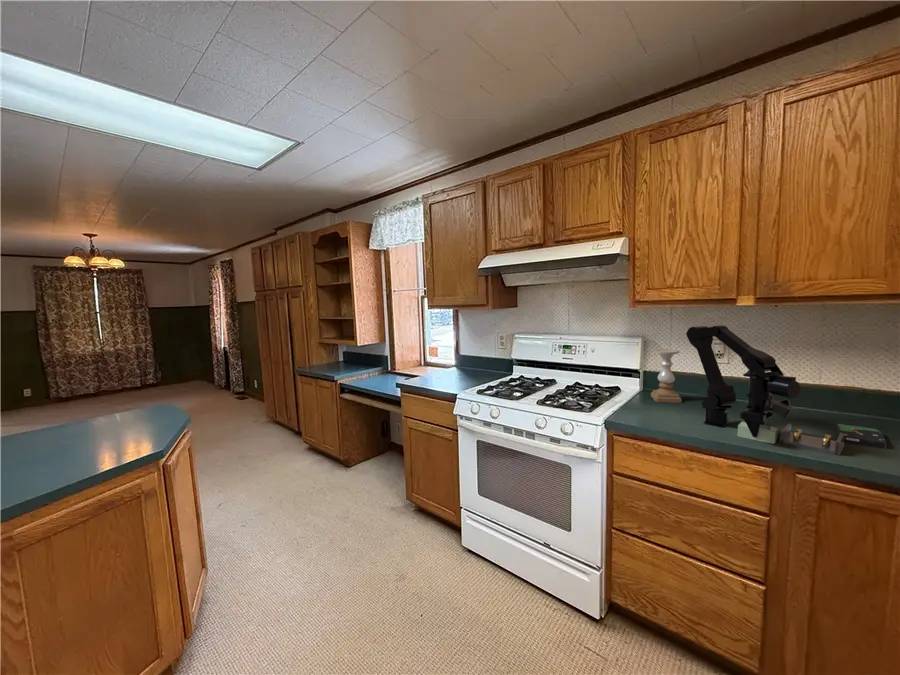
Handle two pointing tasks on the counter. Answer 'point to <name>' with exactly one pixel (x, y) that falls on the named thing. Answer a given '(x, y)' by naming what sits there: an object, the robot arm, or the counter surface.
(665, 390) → the candle holder
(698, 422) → the counter surface
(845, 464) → the counter surface
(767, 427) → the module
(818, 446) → the chassis
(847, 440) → the disk drive
